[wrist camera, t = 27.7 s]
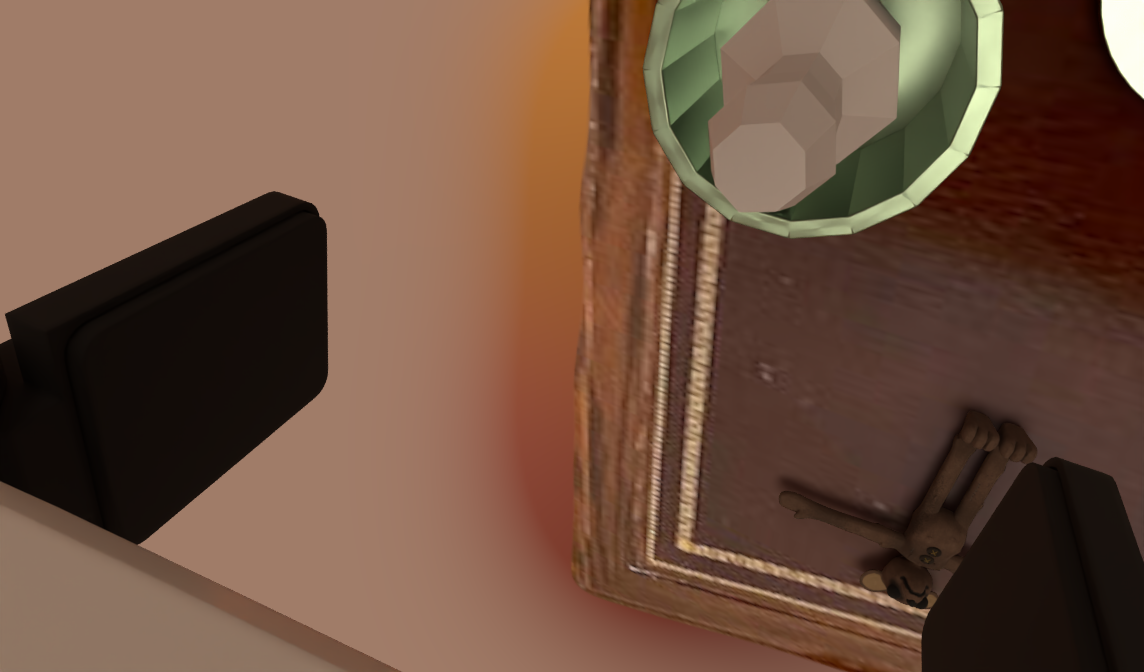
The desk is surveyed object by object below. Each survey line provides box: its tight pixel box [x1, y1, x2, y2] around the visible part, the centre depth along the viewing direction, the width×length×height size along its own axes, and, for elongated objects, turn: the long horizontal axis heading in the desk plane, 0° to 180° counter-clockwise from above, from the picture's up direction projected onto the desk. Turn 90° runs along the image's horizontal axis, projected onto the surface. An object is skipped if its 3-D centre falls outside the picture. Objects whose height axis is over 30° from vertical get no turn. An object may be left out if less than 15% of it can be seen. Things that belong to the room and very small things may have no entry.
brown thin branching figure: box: [779, 411, 1037, 609], centre depth 46 cm, size 18×4×14 cm
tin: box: [643, 0, 1004, 239], centre depth 33 cm, size 13×13×10 cm
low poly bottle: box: [708, 0, 901, 212], centre depth 28 cm, size 6×6×22 cm
